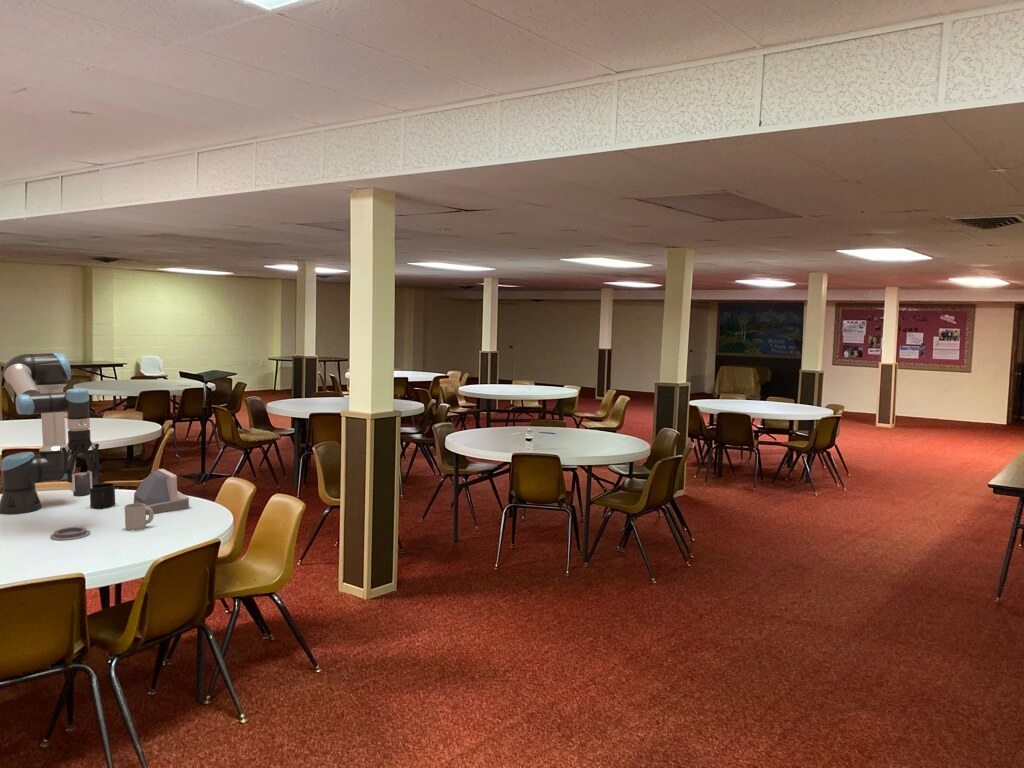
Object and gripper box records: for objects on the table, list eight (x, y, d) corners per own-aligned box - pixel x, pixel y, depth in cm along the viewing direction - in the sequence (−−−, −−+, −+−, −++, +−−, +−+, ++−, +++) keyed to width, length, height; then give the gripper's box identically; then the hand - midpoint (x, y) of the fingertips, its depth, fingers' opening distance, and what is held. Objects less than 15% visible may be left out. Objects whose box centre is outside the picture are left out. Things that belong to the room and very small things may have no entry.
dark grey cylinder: (70, 495, 308) (70, 473, 307) (86, 492, 312) (85, 471, 311) (76, 497, 304) (76, 475, 304) (92, 494, 309) (91, 473, 308)
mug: (90, 511, 333) (89, 490, 332) (90, 505, 344) (89, 484, 343) (115, 509, 337) (114, 487, 336) (115, 502, 348) (114, 482, 347)
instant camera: (191, 510, 337) (190, 475, 335) (136, 516, 326) (135, 480, 325) (182, 500, 355) (181, 466, 354) (131, 505, 344) (130, 471, 343)
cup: (124, 527, 310) (124, 504, 309) (153, 523, 315) (152, 501, 314) (126, 531, 304) (125, 508, 303) (154, 528, 309) (154, 505, 308)
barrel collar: (44, 535, 297) (44, 531, 297) (81, 528, 307) (81, 524, 307) (58, 542, 289) (58, 537, 289) (96, 535, 299) (96, 530, 298)
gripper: (56, 433, 296) (59, 494, 299) (108, 427, 310) (110, 486, 313) (48, 430, 301) (51, 491, 303) (100, 425, 315) (102, 484, 317)
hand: (81, 489), depth 308 cm, fingers closed on dark grey cylinder, 5 cm apart
